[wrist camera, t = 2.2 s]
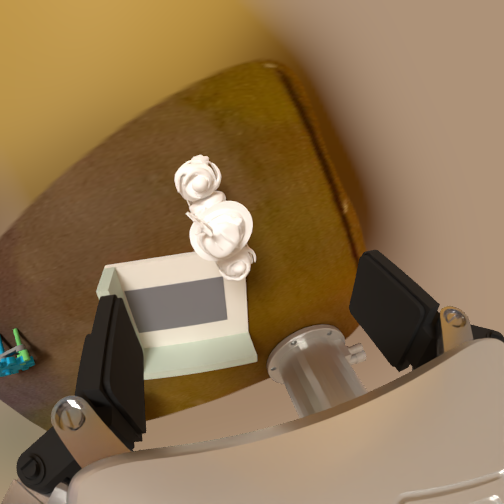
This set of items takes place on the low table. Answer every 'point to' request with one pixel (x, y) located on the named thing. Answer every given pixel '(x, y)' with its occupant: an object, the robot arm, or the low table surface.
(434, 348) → the robot arm
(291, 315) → the low table surface
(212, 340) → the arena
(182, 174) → the white swirly figurine
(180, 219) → the low table surface
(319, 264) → the low table surface
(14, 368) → the gear
